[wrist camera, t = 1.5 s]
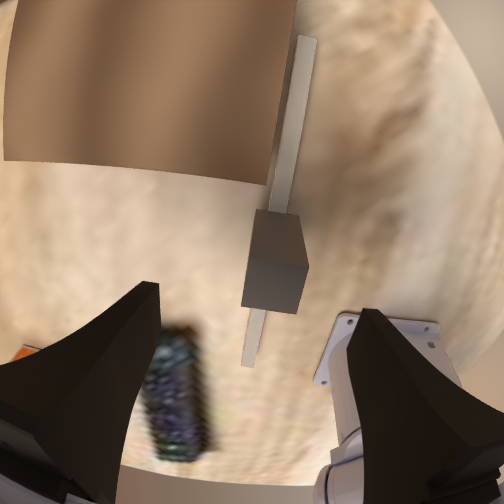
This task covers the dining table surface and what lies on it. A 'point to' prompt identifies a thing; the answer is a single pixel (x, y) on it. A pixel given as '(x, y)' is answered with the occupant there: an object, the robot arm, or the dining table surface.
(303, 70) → the grey hammer
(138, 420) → the dining table surface
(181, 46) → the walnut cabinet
